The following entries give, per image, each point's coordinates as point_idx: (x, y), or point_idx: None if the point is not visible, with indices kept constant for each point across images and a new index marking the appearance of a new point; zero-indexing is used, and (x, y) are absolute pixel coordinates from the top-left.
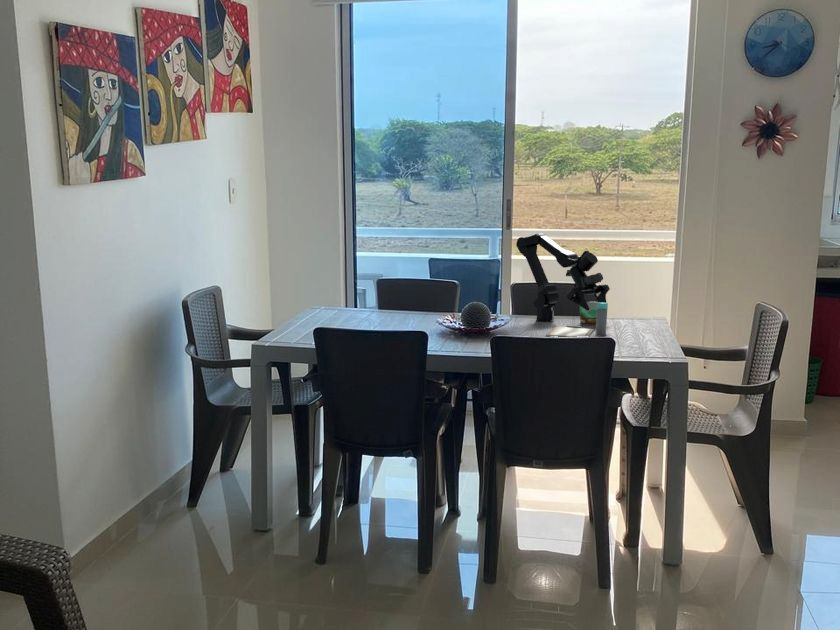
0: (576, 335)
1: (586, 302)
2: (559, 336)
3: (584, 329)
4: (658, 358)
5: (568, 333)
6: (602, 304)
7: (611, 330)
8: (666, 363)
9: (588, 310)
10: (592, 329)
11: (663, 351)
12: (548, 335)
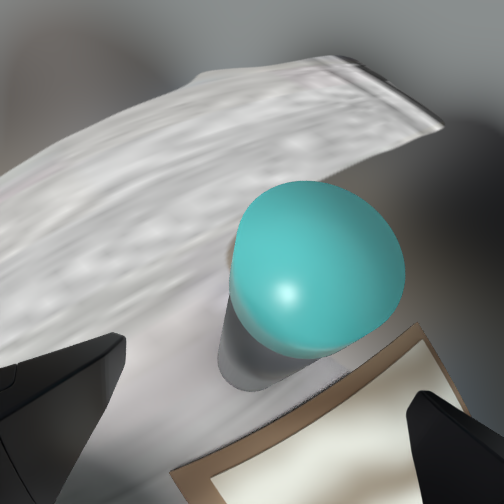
0: None
1: (479, 436)
2: None
3: (258, 491)
4: (353, 79)
5: None
6: (377, 215)
7: None
8: (366, 68)
9: (413, 404)
10: (190, 470)
11: (284, 81)
12: None
